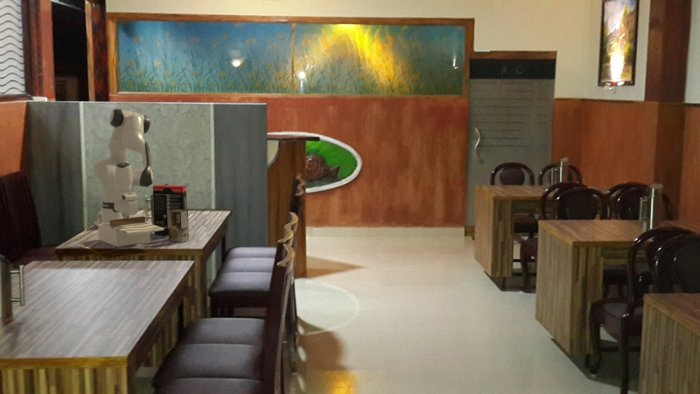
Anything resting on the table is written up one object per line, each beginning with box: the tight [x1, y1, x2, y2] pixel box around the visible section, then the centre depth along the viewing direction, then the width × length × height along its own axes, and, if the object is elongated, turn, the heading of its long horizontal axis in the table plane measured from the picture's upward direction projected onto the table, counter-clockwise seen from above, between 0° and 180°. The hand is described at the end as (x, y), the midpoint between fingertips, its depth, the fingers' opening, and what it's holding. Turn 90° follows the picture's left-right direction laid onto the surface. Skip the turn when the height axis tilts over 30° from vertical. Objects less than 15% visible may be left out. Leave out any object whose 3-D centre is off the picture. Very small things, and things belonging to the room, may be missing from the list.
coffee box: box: [167, 209, 190, 243], centre depth 385 cm, size 9×6×16 cm
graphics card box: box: [152, 184, 188, 236], centre depth 399 cm, size 17×7×27 cm, turn 84°
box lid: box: [110, 215, 164, 235], centre depth 370 cm, size 22×18×4 cm
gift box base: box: [97, 223, 151, 247], centre depth 382 cm, size 22×18×9 cm
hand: (126, 221), depth 379 cm, fingers closed
